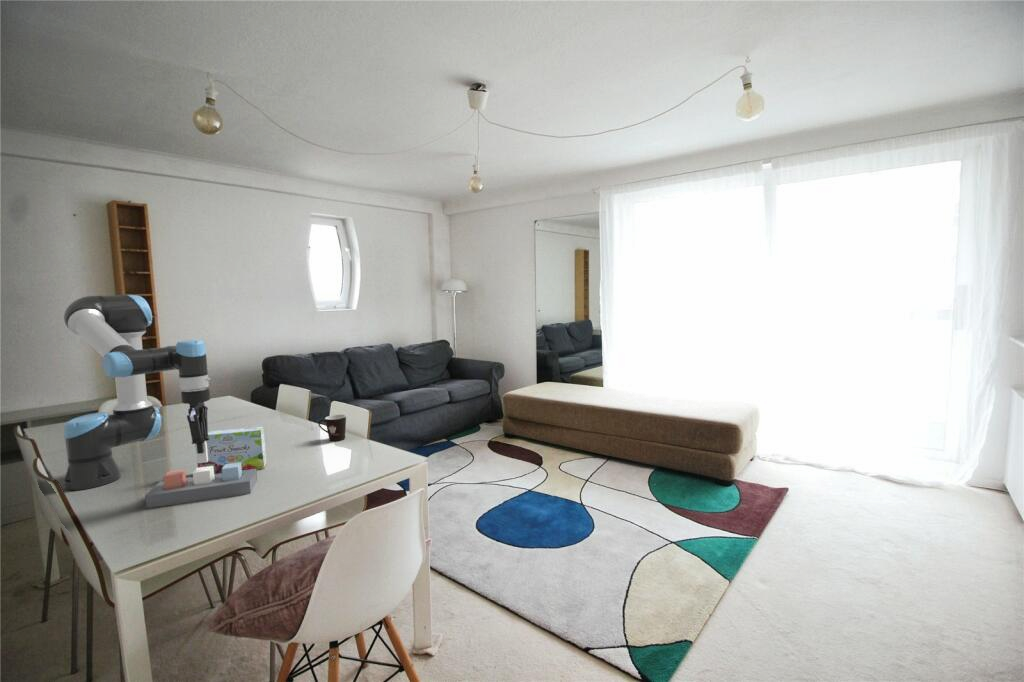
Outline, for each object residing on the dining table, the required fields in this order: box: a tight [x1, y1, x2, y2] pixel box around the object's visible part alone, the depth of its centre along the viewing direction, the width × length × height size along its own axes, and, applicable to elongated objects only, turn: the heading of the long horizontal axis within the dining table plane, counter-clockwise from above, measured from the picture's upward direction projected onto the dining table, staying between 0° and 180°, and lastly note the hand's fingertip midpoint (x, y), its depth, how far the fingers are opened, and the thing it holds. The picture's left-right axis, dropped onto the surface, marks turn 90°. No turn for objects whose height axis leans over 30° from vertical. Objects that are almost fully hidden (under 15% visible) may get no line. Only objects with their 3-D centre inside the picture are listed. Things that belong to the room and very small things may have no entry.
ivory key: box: [192, 466, 215, 485], centre depth 155 cm, size 5×5×4 cm
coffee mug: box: [318, 414, 347, 443], centre depth 210 cm, size 12×9×10 cm
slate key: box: [222, 462, 242, 481], centre depth 157 cm, size 5×5×4 cm
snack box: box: [196, 426, 268, 474], centre depth 175 cm, size 21×6×15 cm, turn 105°
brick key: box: [162, 468, 187, 489], centre depth 152 cm, size 5×5×4 cm
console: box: [145, 469, 258, 509], centre depth 155 cm, size 28×12×4 cm, turn 109°
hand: (202, 462), depth 154 cm, fingers closed
